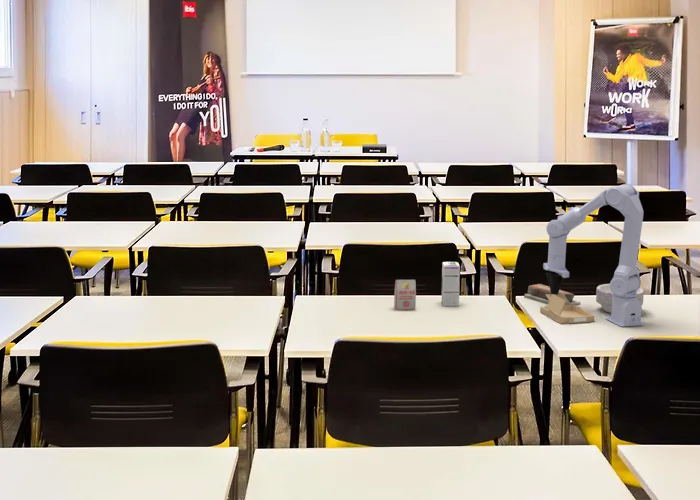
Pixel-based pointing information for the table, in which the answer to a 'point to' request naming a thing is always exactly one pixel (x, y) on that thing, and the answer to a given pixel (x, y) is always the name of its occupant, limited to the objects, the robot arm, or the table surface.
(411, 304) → the white food box
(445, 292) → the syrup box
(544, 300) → the packaged product
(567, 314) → the carton
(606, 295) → the paper bowls
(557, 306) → the left flap
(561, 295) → the far flap
